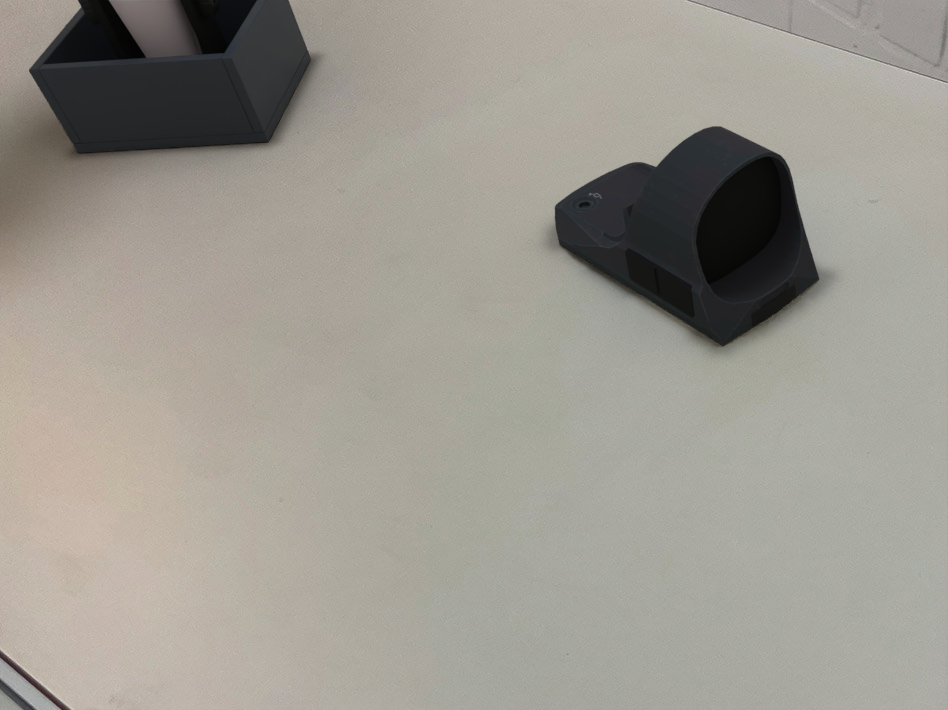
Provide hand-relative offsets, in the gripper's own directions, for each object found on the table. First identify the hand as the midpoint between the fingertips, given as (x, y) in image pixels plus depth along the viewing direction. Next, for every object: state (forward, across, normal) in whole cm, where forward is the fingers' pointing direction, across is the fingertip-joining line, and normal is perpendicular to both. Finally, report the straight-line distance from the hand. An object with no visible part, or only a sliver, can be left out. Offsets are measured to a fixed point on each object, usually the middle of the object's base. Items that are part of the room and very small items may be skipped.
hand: (176, 58), depth 86 cm
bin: (+4, 0, 0) cm, 4 cm away
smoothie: (+1, 0, 0) cm, 1 cm away
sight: (+4, -41, +25) cm, 48 cm away
